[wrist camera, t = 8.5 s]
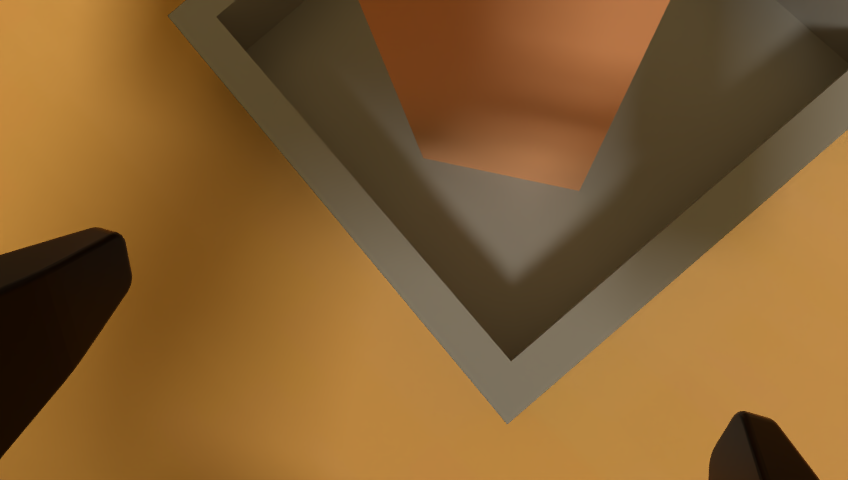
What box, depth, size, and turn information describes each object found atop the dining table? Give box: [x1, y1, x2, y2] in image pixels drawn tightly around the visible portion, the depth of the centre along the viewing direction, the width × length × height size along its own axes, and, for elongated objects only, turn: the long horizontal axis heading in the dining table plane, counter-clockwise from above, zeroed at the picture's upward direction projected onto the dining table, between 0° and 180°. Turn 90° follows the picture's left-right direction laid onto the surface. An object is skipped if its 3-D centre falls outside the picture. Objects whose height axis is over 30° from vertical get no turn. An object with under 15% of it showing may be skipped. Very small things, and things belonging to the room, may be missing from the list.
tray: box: [168, 0, 848, 424], centre depth 18 cm, size 14×14×3 cm
